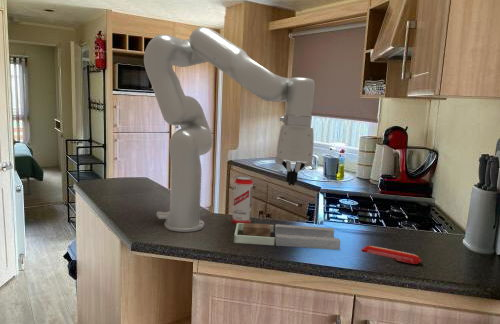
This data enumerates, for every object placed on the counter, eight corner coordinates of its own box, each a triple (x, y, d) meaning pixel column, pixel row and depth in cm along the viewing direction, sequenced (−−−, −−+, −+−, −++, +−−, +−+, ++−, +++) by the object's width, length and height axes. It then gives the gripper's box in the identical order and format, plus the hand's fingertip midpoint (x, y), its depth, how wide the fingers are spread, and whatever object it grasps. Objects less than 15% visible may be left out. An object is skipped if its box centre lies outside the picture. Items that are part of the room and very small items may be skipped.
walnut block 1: (242, 239, 116) (243, 226, 115) (243, 235, 120) (244, 222, 119) (256, 240, 116) (257, 227, 115) (256, 236, 120) (257, 223, 119)
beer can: (248, 228, 129) (251, 180, 127) (229, 226, 130) (232, 178, 128) (252, 222, 135) (255, 177, 133) (234, 220, 136) (236, 175, 134)
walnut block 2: (256, 240, 116) (257, 227, 115) (256, 236, 120) (257, 223, 119) (269, 241, 116) (270, 228, 115) (269, 237, 120) (270, 224, 119)
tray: (233, 245, 112) (234, 235, 112) (236, 232, 124) (237, 222, 124) (273, 248, 112) (274, 238, 112) (272, 234, 124) (273, 225, 124)
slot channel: (275, 248, 112) (276, 236, 112) (274, 234, 124) (275, 224, 123) (339, 253, 112) (340, 241, 111) (332, 238, 123) (333, 228, 123)
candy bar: (421, 263, 108) (423, 253, 108) (421, 268, 105) (422, 257, 104) (362, 251, 115) (363, 241, 114) (360, 255, 112) (361, 245, 111)
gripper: (271, 120, 109) (265, 184, 112) (325, 124, 109) (318, 189, 112) (271, 119, 117) (265, 179, 119) (321, 123, 116) (315, 184, 119)
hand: (291, 184), depth 115 cm, fingers closed
